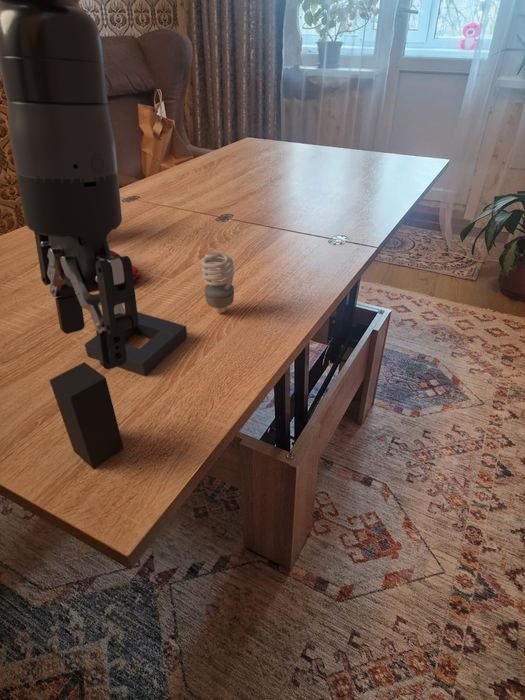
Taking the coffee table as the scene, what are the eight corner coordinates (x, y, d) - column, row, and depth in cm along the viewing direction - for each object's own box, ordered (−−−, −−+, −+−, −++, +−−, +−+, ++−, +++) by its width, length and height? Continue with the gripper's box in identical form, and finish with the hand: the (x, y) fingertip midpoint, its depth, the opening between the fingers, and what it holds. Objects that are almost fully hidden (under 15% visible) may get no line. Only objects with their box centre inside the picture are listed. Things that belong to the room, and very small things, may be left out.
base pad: (145, 376, 75) (142, 363, 73) (87, 356, 79) (84, 344, 78) (187, 337, 83) (186, 325, 82) (133, 321, 88) (131, 310, 86)
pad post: (93, 469, 60) (70, 397, 53) (73, 451, 63) (49, 379, 56) (124, 448, 63) (105, 377, 56) (104, 431, 65) (84, 361, 58)
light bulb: (200, 316, 89) (194, 257, 82) (214, 302, 93) (209, 244, 86) (227, 323, 87) (224, 262, 80) (240, 308, 91) (238, 249, 84)
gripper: (-13, 156, 40) (24, 331, 48) (57, 185, 31) (88, 394, 39) (75, 152, 45) (95, 312, 52) (157, 177, 36) (167, 365, 43)
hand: (92, 347), depth 46 cm, fingers open, 8 cm apart
